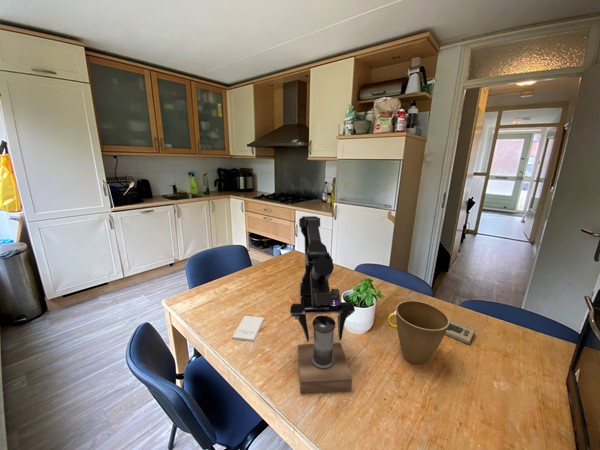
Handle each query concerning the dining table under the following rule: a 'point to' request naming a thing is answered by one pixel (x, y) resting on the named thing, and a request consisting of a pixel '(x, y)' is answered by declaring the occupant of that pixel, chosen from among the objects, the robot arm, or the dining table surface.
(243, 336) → the external hard drive
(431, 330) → the brown hollow tapered container
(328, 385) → the stand
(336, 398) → the dining table surface
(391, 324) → the watch
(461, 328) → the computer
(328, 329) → the cylinder
